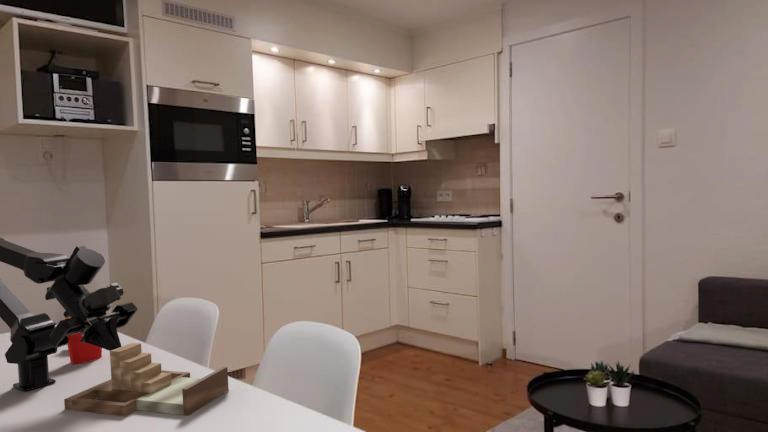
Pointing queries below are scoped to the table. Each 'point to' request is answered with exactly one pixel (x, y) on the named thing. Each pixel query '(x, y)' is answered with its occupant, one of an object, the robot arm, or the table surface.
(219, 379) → the brown wooden flat frame
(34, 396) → the table surface
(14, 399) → the table surface
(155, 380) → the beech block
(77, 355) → the french fries
